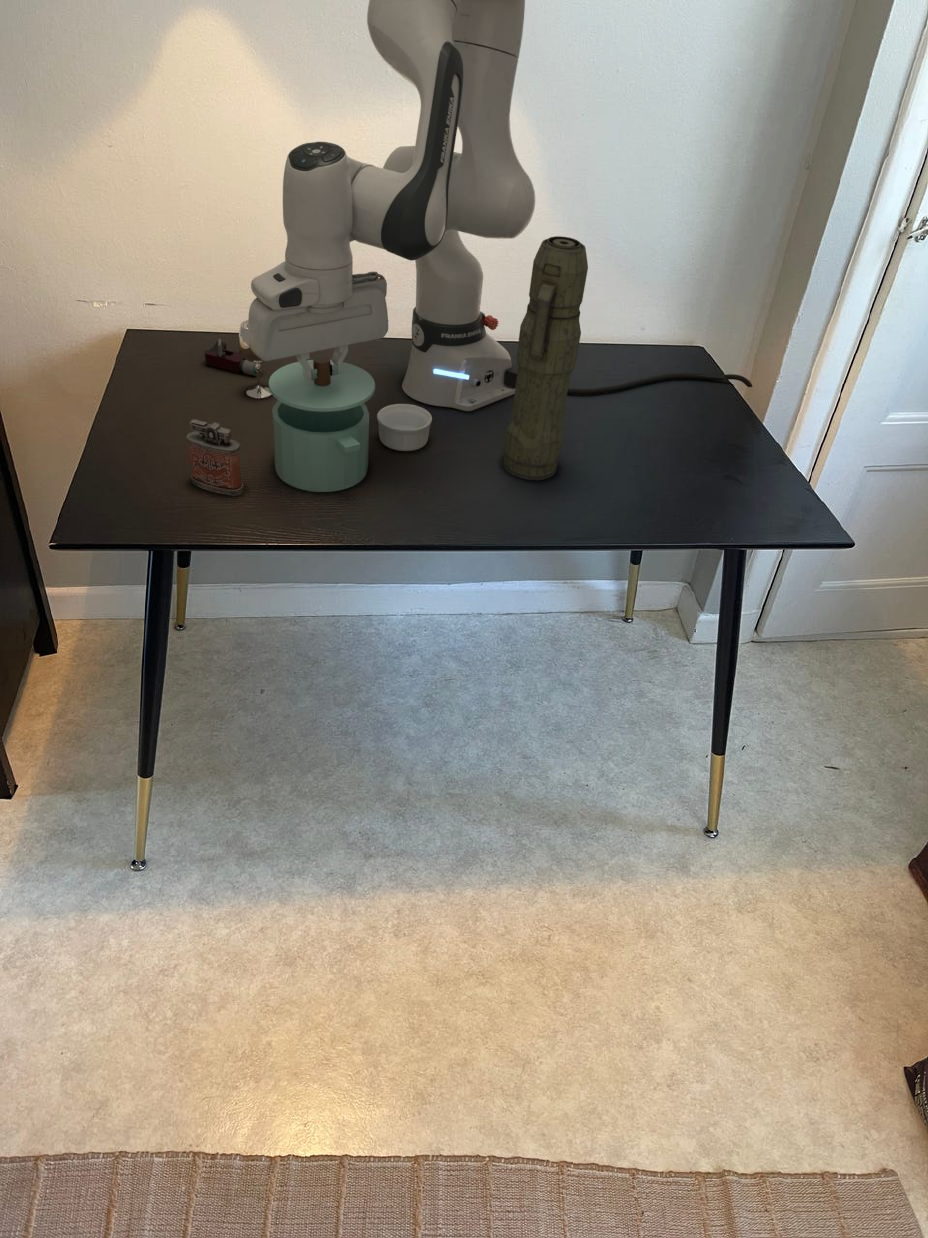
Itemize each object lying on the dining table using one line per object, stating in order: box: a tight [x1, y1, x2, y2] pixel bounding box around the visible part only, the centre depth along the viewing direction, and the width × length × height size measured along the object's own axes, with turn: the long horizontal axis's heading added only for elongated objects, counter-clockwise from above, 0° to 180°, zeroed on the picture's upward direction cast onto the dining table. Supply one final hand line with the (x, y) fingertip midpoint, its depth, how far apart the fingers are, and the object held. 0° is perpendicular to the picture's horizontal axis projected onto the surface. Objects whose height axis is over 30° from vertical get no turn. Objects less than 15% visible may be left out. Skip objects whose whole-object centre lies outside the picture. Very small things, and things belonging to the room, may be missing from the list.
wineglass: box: [238, 319, 273, 399], centre depth 152 cm, size 6×6×12 cm
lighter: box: [186, 419, 244, 496], centre depth 129 cm, size 8×3×10 cm, turn 71°
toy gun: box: [203, 338, 262, 377], centre depth 163 cm, size 10×12×5 cm
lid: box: [268, 355, 376, 412], centre depth 129 cm, size 15×15×5 cm
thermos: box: [502, 235, 589, 481], centre depth 134 cm, size 9×12×35 cm
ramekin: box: [376, 403, 433, 452], centre depth 146 cm, size 9×9×4 cm
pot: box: [271, 400, 370, 493], centre depth 136 cm, size 14×19×10 cm
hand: (321, 376), depth 130 cm, fingers closed on lid, 2 cm apart
